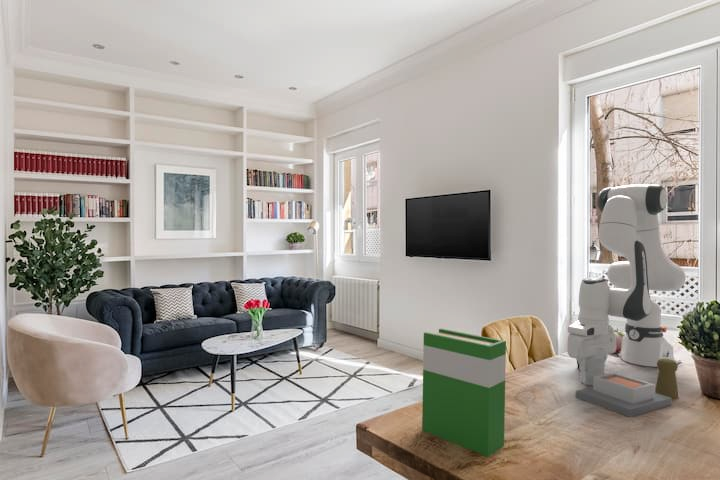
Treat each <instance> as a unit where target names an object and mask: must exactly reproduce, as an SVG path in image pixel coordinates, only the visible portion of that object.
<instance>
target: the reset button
mask: <svg viewBox="0 0 720 480" xmlns="http://www.w3.org/2000/svg"><path fill="white" fill-rule="evenodd" d="M606 380H609V381H612V382H615V383H618V384H622V385H625V386H628V387H631V388H634V387H638V386H642V384H638V383H635V382H632V381H629V380H625V379H622V378H619V377H613V378H608V379H606Z"/></svg>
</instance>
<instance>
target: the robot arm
mask: <svg viewBox="0 0 720 480" xmlns="http://www.w3.org/2000/svg"><path fill="white" fill-rule="evenodd" d="M666 190H667V189H666V188H665V187H663V185H661V184H654V183H651V184H641V183H640V184H629V185H627V184H626V185H620V186H615V187H613V186H610V187H605V188H603V189H601V191H600V192H599V193H598V195H597V200H596V203H597V208H598V211H599V212H600V213H601V216H600V221H599V225H598V226H599V227H598V234H597V235H598V240H599V243H600V244H601V246H602V247H603V248H604V249H606V250H607V251H610V252H612V253H614V254H616V255H618V256H621V257H623V258H625V259H626V260H622V261H615V262H612V263H611V264H610V266H609V267H608V270H607V272H606V273H607V275H606V277H607V279H608V280H607V279H606V278H604V277H599V276H593V277H590V276H589V277H586V278H584V279H582V280H581V282H580V287H579V290H578V291H579V293H578V307H579V312H578V318H577V320H576V321H575V322H573V323H571V324H570V325H568V327H567V333H569V334H568V337H567V345H566V346H567V348H566V349H567V350H566V351H567V355H568V356H569V357H570V358H572V359H576V362H577V361H578V363H579V370H580V372H581V371H587V365H585V362H584V361H585V360H586V358H587V357H593V356H596V349H598V348H603V349H605V351H604V368H605V367H606V361H607V359H608V356H609V355H610V354H615V353H616V352H615V351H616V337H615V333H614V330H615V329H614V328H613V327H612V326H611V325H609V323H610V322H609V320H610V319H609V316H611V317H618V318H624V319H626V323H625V327H624V332H625V334H626V335H625V336H623V339H622V347H621V351H620V352H617V353H618V354H617V356H618V357H620V359H621V360H622V361H624V362H626V363H629V364H632V365H638V366H645V367H653V368H654V367H656V368H658V367H657V362H658V360H659V359H670V360H673V361H675V362H676V363H677V365H678V364H680V363H681V361H682V360H681V358H678V357H675V356H674V347H673V345H672V344H671V343H670V342H668V340H667V339H665V337H664V333H667V330H668V329H667V327H665V326H661V317H662V316H661V315H662V313H661V312H662V309H661V307H660V305H659V304H658V303H657V302H656V301H655V300H652V299H651V296H650V291H653V292H662V293H663V292H675V291H679V290H680V289H682V288H683V286H684V285H685V282H686V274H685V273H686V272H685V271H684V270H683V268H682V267H681V266H680V265H679V264H677V263H675V262H674V261H672V260H671V259H670V257H668V256H667V254H666V253H665V252H664V249H663V247H662V243H661V242H662V241H661V238H660V237H661V236H660V224H659V216H658V214H659V213H661V212H662V211H664V210H665V209H666V206H667V204H668V193H667V191H666ZM608 281H609V283H610V284H611V285H609V284H608ZM613 286H614V287H613Z"/></svg>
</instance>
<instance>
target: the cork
mask: <svg viewBox="0 0 720 480" xmlns="http://www.w3.org/2000/svg"><path fill="white" fill-rule="evenodd" d="M678 367H679V366H678V364H677V363H676V362H675V361H673V360H670V359H659V360H658V362H657V367H656V368H658V373H657V379H656V385H655V388H654V393H658V394H661V395H664V396H667V397H671V398H672V400H677V399H678V400H679V390H678V383H677V373H676V372H677V370H678Z"/></svg>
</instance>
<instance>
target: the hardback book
mask: <svg viewBox="0 0 720 480" xmlns="http://www.w3.org/2000/svg"><path fill="white" fill-rule="evenodd" d="M422 349H423V353H422V354H423V355H422V356H423V358H422V362H423V364H422V410H421V411H422V412H421V413H422V414H421V415H422V416H421V418H422V421H421V422H422V423H421V424H422V425H421V426H422V427H421V431H422V432H425V433H428V434H430V435H432V436H435V437H437V438H440V439H442V440H445V441H446V442H447V441H448V442H450V443H452V444H455V445H458V446H460V447H462V448H465V449H468V450H470V451H473V452H476V453H478V454H479V455H483V456H486V457H490V456H492V454H494V453H495V452H497V451H498V450H500V449H501V448H503V447H504V446H505V419H506V418H505V417H506V415H505V412H506V411H505V410H506V405H505V404H506V368H507V367H506V363H507V362H506V359H507V358H506V357H507V354H506V353H507V341H506V340H503V339H499V338H498V339H497V338H491V337H487V336H481V335H476V334H470V333H466V332H459V331H454V330H450V329H444V328H438V332H436V333H431V332H423V348H422Z"/></svg>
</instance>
